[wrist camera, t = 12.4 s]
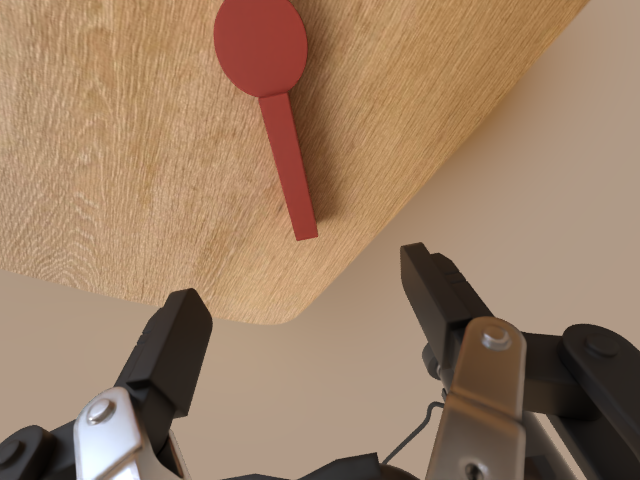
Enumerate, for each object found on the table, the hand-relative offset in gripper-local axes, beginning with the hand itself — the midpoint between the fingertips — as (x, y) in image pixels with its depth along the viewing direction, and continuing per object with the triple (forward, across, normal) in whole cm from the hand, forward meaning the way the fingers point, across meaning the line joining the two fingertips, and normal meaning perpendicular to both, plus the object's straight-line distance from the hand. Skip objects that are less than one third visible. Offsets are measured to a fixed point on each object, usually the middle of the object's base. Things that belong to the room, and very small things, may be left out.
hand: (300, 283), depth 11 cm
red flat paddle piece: (+18, +1, -2) cm, 18 cm away
